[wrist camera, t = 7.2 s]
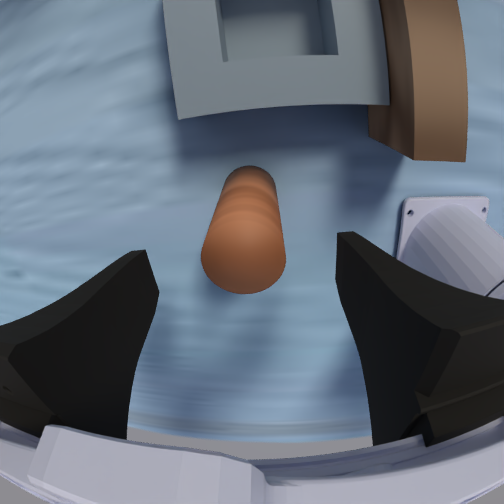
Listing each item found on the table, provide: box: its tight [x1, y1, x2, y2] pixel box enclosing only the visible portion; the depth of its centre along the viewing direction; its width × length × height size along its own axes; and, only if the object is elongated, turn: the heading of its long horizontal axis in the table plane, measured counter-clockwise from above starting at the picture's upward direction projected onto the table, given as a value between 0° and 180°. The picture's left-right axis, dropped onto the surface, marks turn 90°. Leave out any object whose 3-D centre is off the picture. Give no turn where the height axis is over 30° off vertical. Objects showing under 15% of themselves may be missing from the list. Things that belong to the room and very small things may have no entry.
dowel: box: [201, 166, 286, 294], centre depth 15 cm, size 3×3×8 cm
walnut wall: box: [368, 0, 468, 162], centre depth 10 cm, size 16×3×6 cm, turn 6°
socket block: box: [162, 0, 390, 120], centre depth 12 cm, size 10×10×4 cm
